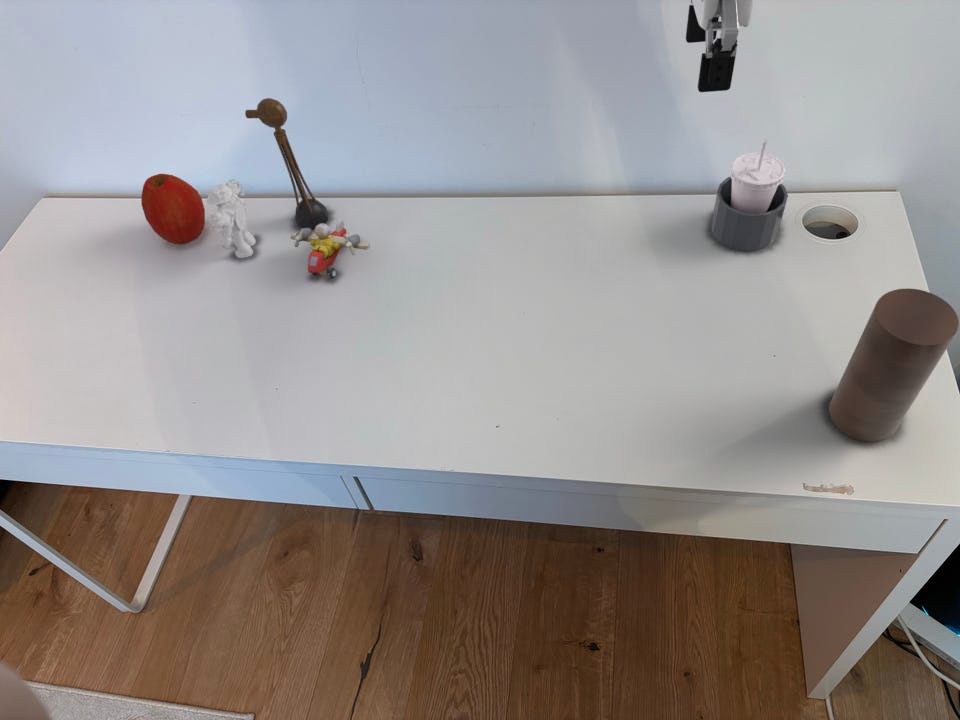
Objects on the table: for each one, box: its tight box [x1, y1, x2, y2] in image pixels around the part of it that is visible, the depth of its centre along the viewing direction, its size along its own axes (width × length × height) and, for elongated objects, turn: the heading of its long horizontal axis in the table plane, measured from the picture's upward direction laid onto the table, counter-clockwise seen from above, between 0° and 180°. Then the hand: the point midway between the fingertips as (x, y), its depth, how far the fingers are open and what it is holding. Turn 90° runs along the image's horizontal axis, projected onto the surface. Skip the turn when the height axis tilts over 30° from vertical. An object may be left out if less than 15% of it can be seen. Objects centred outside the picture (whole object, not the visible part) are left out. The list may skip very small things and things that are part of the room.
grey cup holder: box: [710, 176, 789, 252], centre depth 94 cm, size 8×8×6 cm
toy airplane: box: [289, 218, 371, 279], centre depth 100 cm, size 9×9×6 cm
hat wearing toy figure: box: [206, 178, 257, 259], centre depth 101 cm, size 9×4×12 cm, turn 178°
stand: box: [828, 287, 960, 443], centre depth 71 cm, size 7×7×16 cm
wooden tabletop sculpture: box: [244, 97, 329, 231], centre depth 100 cm, size 6×5×20 cm
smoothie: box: [729, 138, 786, 214], centre depth 91 cm, size 6×6×14 cm
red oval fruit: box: [140, 173, 206, 245], centre depth 105 cm, size 8×8×11 cm
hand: (706, 64), depth 78 cm, fingers open, 9 cm apart
